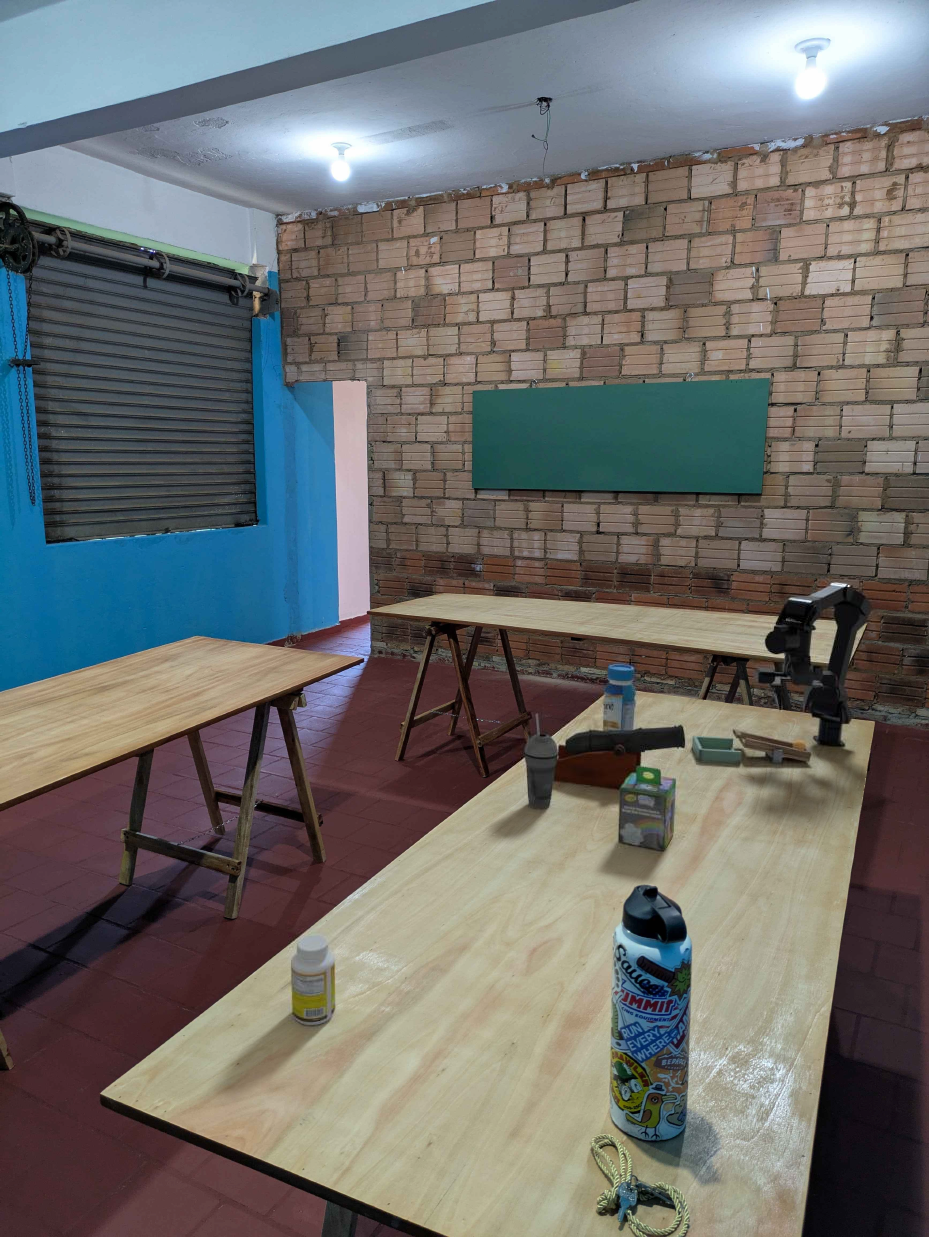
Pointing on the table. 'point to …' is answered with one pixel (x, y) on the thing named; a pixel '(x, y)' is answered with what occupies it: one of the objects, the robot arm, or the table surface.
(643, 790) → the chalk box
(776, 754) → the fulcrum
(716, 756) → the tray
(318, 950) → the supplement bottle
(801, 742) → the ball
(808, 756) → the chute
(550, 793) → the beverage cup
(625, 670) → the beverage bottle
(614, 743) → the cannon model
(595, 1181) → the table surface
